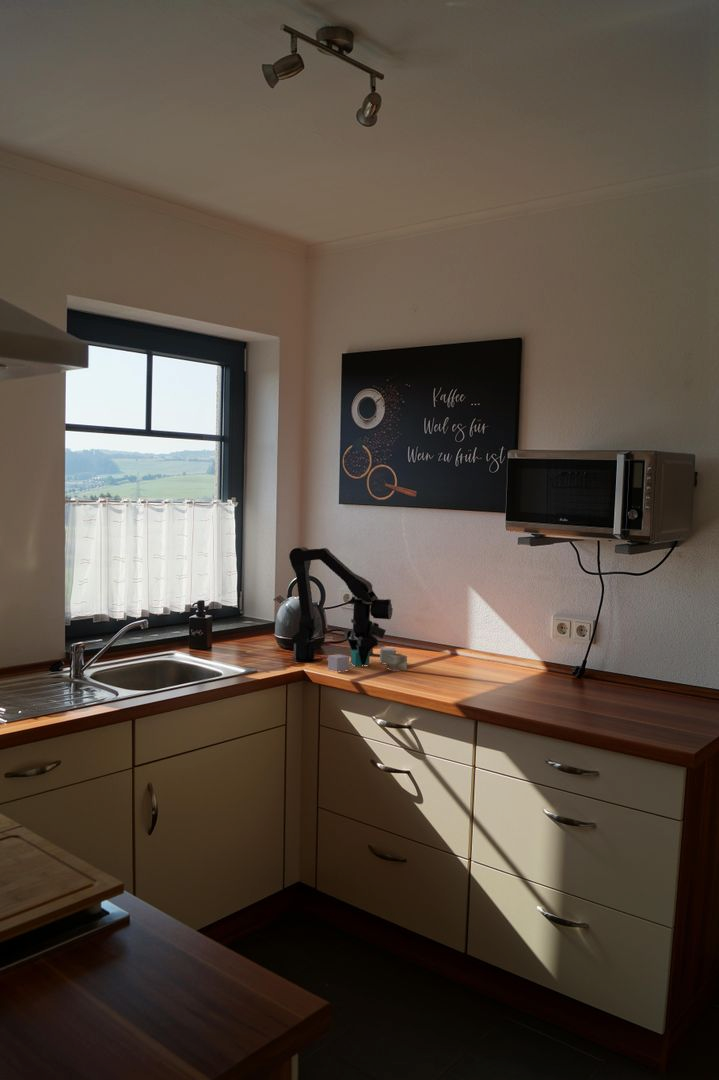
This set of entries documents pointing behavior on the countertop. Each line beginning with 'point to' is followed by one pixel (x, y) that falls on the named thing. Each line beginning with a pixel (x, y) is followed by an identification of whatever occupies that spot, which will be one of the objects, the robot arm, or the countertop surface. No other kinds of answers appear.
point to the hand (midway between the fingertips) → (359, 662)
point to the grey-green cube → (396, 662)
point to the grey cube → (386, 651)
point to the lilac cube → (338, 662)
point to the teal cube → (358, 658)
